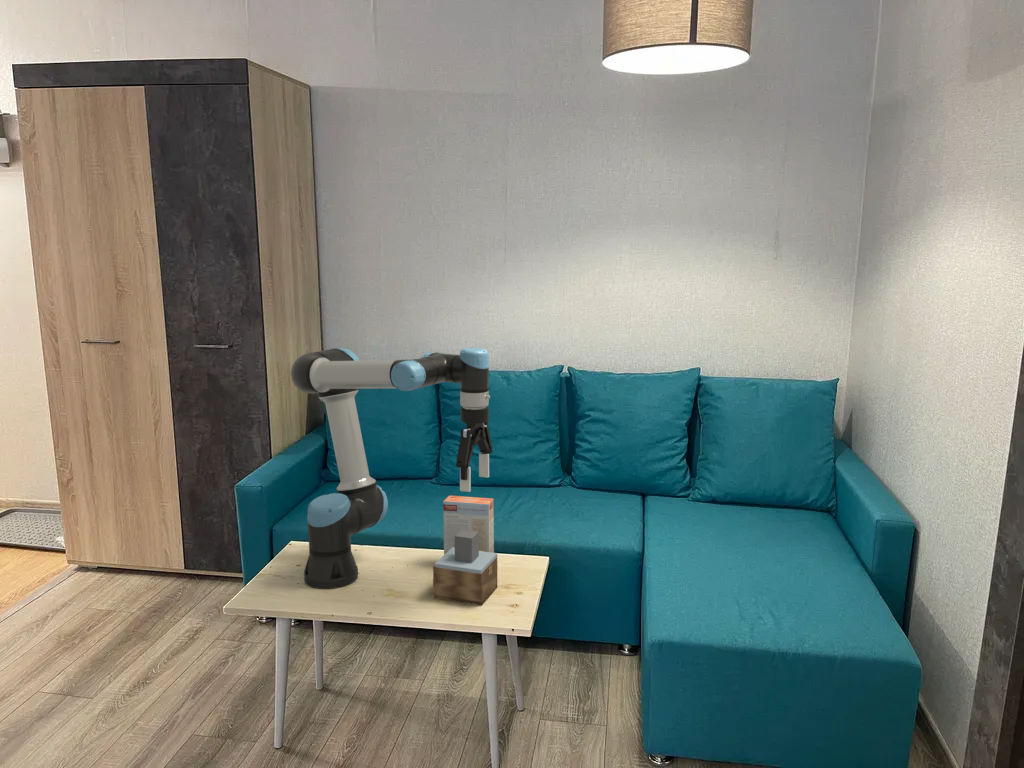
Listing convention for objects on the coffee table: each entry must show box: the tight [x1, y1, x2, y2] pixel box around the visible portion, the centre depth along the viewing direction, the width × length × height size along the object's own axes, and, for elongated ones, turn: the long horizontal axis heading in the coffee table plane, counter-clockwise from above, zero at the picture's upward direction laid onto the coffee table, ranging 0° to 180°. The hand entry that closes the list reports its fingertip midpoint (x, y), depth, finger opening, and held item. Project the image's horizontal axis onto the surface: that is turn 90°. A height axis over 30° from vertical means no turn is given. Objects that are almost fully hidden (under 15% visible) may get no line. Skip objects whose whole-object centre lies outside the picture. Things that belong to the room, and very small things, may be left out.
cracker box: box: [442, 495, 495, 555], centre depth 235 cm, size 14×6×21 cm, turn 77°
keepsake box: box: [432, 557, 498, 607], centre depth 219 cm, size 14×12×9 cm
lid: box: [433, 547, 498, 574], centre depth 218 cm, size 13×12×1 cm
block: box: [455, 530, 479, 563], centre depth 217 cm, size 5×5×7 cm
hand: (474, 483), depth 215 cm, fingers open, 13 cm apart
